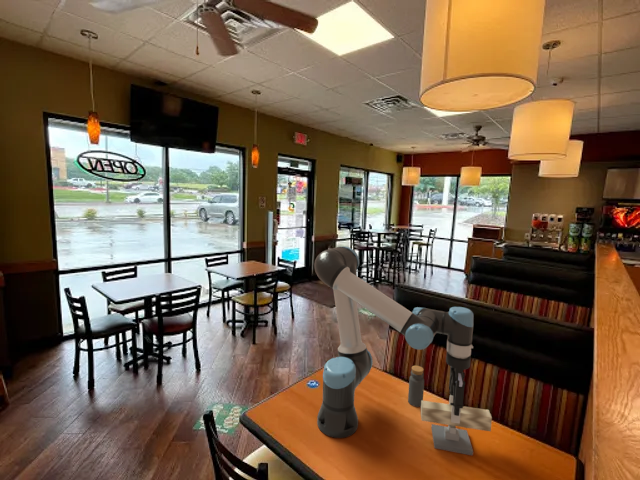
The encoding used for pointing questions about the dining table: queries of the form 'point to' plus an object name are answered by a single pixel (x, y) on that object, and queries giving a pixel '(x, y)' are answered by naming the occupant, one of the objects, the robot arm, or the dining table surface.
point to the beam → (467, 416)
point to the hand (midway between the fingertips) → (454, 417)
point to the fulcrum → (451, 439)
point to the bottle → (416, 386)
